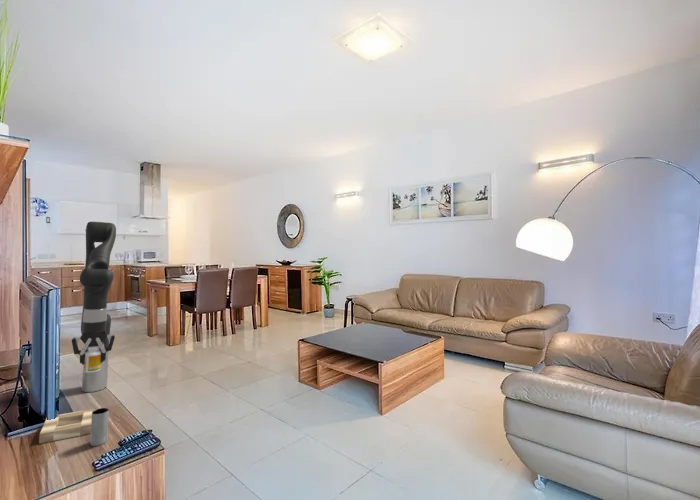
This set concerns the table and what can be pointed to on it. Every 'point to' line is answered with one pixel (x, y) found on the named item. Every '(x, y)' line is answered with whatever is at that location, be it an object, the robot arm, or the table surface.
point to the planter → (99, 426)
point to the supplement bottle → (92, 359)
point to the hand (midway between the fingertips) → (92, 362)
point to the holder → (66, 426)
